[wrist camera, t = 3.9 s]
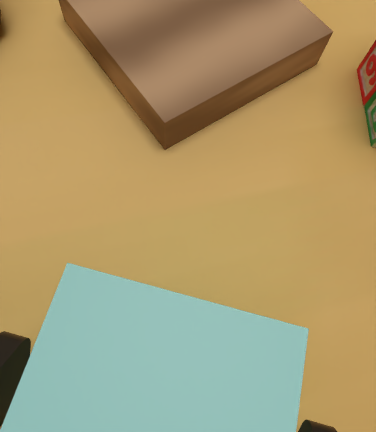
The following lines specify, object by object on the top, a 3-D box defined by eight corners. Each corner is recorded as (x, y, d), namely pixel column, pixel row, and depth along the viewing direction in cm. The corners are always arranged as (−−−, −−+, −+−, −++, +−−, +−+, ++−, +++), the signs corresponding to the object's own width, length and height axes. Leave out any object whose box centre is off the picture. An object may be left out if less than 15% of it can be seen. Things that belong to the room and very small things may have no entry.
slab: (66, 26, 24) (53, -17, 21) (208, -34, 27) (213, -79, 24) (164, 154, 21) (164, 122, 18) (313, 69, 24) (333, 31, 21)
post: (94, 427, 15) (-59, 576, 5) (128, 321, 17) (67, 262, 6) (197, 458, 15) (265, 678, 5) (221, 347, 16) (308, 328, 6)
